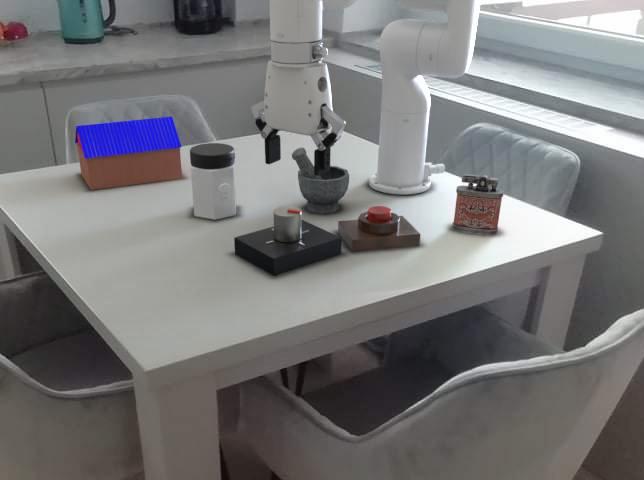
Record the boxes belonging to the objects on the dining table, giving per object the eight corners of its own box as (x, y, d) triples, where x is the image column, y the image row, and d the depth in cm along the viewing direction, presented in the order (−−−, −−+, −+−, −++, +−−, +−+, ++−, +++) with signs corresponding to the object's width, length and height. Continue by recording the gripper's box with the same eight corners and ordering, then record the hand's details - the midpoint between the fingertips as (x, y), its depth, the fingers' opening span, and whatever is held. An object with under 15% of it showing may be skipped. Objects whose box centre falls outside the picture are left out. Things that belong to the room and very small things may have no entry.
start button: (386, 214, 131) (386, 205, 131) (393, 222, 128) (394, 213, 127) (364, 216, 131) (364, 206, 130) (371, 224, 127) (372, 214, 126)
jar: (204, 223, 138) (200, 158, 132) (184, 210, 144) (179, 147, 138) (246, 213, 142) (244, 150, 136) (225, 201, 148) (222, 140, 142)
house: (184, 178, 161) (179, 122, 155) (89, 190, 154) (81, 133, 148) (169, 163, 170) (164, 110, 164) (79, 174, 163) (71, 119, 157)
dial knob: (269, 240, 123) (269, 212, 121) (280, 230, 127) (280, 203, 124) (295, 244, 122) (295, 215, 119) (305, 234, 125) (306, 206, 123)
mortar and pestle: (336, 197, 150) (337, 136, 144) (356, 212, 143) (359, 149, 136) (283, 204, 147) (282, 142, 140) (301, 220, 139) (301, 156, 133)
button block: (401, 227, 136) (403, 205, 134) (419, 245, 129) (421, 223, 127) (337, 232, 134) (338, 211, 132) (352, 252, 126) (353, 229, 124)
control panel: (300, 234, 133) (300, 217, 131) (341, 254, 126) (341, 236, 124) (234, 254, 126) (233, 236, 124) (273, 276, 118) (273, 257, 117)
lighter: (498, 229, 135) (506, 174, 130) (496, 236, 132) (505, 180, 127) (453, 224, 137) (459, 170, 132) (450, 230, 135) (457, 175, 129)
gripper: (360, 54, 108) (355, 171, 117) (266, 43, 117) (269, 152, 126) (329, 63, 103) (327, 184, 112) (234, 50, 112) (240, 163, 121)
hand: (296, 167), depth 119 cm, fingers open, 9 cm apart
